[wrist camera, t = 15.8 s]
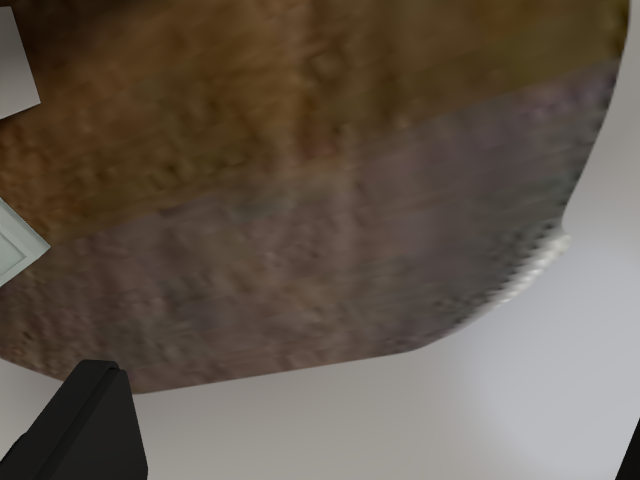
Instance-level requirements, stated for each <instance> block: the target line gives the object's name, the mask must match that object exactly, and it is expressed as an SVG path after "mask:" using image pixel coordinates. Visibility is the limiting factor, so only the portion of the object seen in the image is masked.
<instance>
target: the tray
mask: <svg viewBox="0 0 640 480" xmlns="http://www.w3.org/2000/svg"><path fill="white" fill-rule="evenodd" d="M50 247H51V246H50V245H49V244H48V243H47V242H46V241H45V240H44V239H43V238H42V237H40V236H39V235H38V234H37V233H36V232H35V231H34V230H33V229H32V228H31V227H30V226H29V225H28V224H27V223H26V222H25V221H24V220H23V219H22V218H21V217H20V216H19V215H18V214H17V213H16V212H15V211H14V210H13V209H12V208H10V207H9V206H8V205H7V204H6V203H5V202H4V201H3V200H2V199H1V198H0V287H1V286H2V285H3V284H5V283H6V282H7V281H9V280H10V279H11V278H13V277H14V276H15V275H17V274H18V273H19V272H21V271H22V270H23V269H25V268H26V267H27V266H29V265H30V264H31V263H33V262H34V261H35V260H37V259H38V258H39V257H40V256H41V255H42V254H44V253H45V252H46V251H47V250H48V249H49V248H50Z"/></svg>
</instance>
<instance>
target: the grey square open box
mask: <svg viewBox="0 0 640 480" xmlns="http://www.w3.org/2000/svg"><path fill="white" fill-rule="evenodd" d="M40 103H41V102H40V99H39V96H38V92H37V89H36V86H35V83H34V80H33V76H32V73H31V70H30V67H29V63H28V60H27V57H26V54H25V51H24V47H23V44H22V41H21V38H20V35H19V31H18V28H17V25H16V22H15V19H14V15H13V12H12V9H11V6H7V7H0V119H2V118H5V117H7V116H10V115H12V114H15V113H17V112H20V111H22V110H25V109H27V108H30V107H32V106H35V105H37V104H40Z"/></svg>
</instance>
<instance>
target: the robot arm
mask: <svg viewBox="0 0 640 480" xmlns="http://www.w3.org/2000/svg"><path fill="white" fill-rule="evenodd" d="M147 476H148V466H147V460H146V456H145V452H144V447H143V443H142V439H141V434H140V429H139V425H138V420H137V416H136V412H135V407H134V403H133V398H132V393H131V389H130V385H129V380H128V376H127V373H126V371H125V370H120V369H119V366H118V364H117V363H116V362H114V361H102V360H82V361H80V362H79V363H78V365H77V366H76V367H75V368H74V370H73V371H72V372H71V374H70V375H69V376H68V378H67V379H66V380H65V382H64V383H63V384H62V386H61V387H60V388H59V390H58V391H57V392H56V394H55V395H54V396H53V398H52V399H51V400H50V402H49V403H48V404H47V405H46V407H45V408H44V409H43V411H42V412H41V413H40V415H39V416H38V417H37V419H36V420H35V421H34V423H33V424H32V426H31V427H30V428H29V430H28V431H27V432H26V433H24V434H23V435H21V436H20V438H19V439H18V440H17V441H16V442H15V443H14V444H13V445H12V447H11V448H10V449H9V451H8V452H7V453H6V455H5V456H4V457H3V459H2V460H1V461H0V480H147ZM615 480H640V419H639V421H638V424H637V426H636V429H635V431H634V434H633V436H632V439H631V441H630V444H629V446H628V449H627V451H626V454H625V456H624V459H623V462H622V464H621V466H620V469H619V471H618V474H617V476H616V479H615Z"/></svg>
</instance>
